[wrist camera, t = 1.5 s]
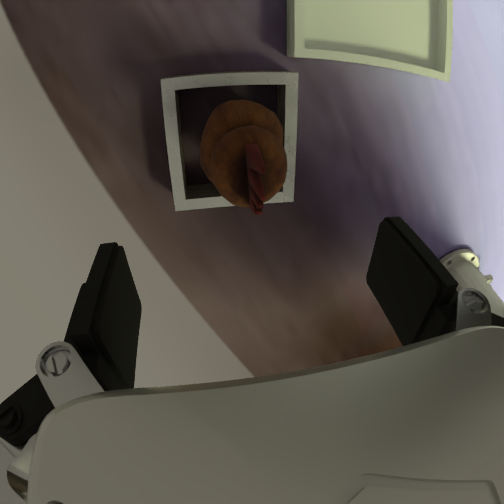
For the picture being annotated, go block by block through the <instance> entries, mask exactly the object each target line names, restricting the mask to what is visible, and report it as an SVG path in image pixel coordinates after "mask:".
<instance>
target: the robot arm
mask: <svg viewBox="0 0 504 504" xmlns="http://www.w3.org/2000/svg"><path fill="white" fill-rule="evenodd" d="M366 280H367V284H368V286H369V287H370V289H371V291H372V292H373V294H374V296H375V297H376V299H377V301H378V303H379V304H380V306H381V308H382V309H383V311H384V313H385V315H386V316H387V318H388V320H389V322H390V323H391V325H392V327H393V329H394V331H395V332H396V334H397V336H398V338H399V340H400V341H401V343H402V345H403V347H399V348H396V349H392V350H388V351H384V352H380V353H376V354H372V355H368V356H364V357H360V358H356V359H351V360H347V361H342V362H338V363H333V364H328V365H323V366H318V367H313V368H308V369H303V370H297V371H291V372H285V373H279V374H273V375H266V376H260V377H253V378H245V379H238V380H229V381H222V382H211V383H201V384H189V385H178V386H166V387H151V388H134V380H135V366H136V356H137V346H138V336H139V327H140V318H141V302H140V299H139V296H138V293H137V290H136V287H135V284H134V281H133V277H132V274H131V271H130V268H129V265H128V262H127V258H126V255H125V251H124V248H123V246H118V244H117V243H115V242H114V243H106V244H100V246H99V249H98V251H97V254H96V256H95V259H94V262H93V265H92V267H91V270H90V273H89V276H88V278H87V281H86V283H84V284H82V286H81V288H80V291H79V294H78V297H77V300H76V303H75V306H74V309H73V312H72V316H71V319H70V322H69V325H68V329H67V332H66V336H65V339H64V342H61V341H59V342H54V343H51V344H50V345H48V346H46V347H45V348H44V349H43V350H42V351H41V352H40V354H39V355H38V358H37V360H36V371H37V374H36V375H35V376H34V377H33V378H32V379H30V380H29V381H28V382H27V383H25V384H24V385H23V386H22V387H20V388H19V389H18V390H17V391H16V392H14V393H13V394H12V395H11V396H9V397H8V398H7V399H6V400H4V401H3V402H2V403H1V404H0V504H504V302H503V301H502V300H501V299H500V297H499V296H498V295H497V294H496V292H495V291H494V290H493V289H492V287H491V285H490V284H489V283H491V282H492V280H493V278H492V275H486V276H484V275H483V274H482V273H481V272H480V271H479V260H478V257H477V256H476V254H475V253H474V252H473V251H471V250H469V249H459V250H456V251H453V252H451V253H449V254H447V255H446V256H444V257H443V258H441V259H440V260H439V259H438V258H437V257H436V256H435V255H434V254H433V252H432V251H431V250H430V249H429V248H428V247H427V246H426V245H425V243H424V242H423V241H422V240H421V239H420V238H419V237H418V236H417V235H416V233H415V232H414V231H413V230H412V229H411V228H410V227H409V226H408V225H407V224H406V223H405V222H404V221H403V220H402V219H401V218H400V217H386V218H384V220H383V221H382V222H381V223H380V225H379V229H378V233H377V237H376V241H375V245H374V249H373V253H372V257H371V261H370V265H369V268H368V272H367V276H366ZM133 388H134V389H133Z"/></svg>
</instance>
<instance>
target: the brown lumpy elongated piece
mask: <svg viewBox="0 0 504 504" xmlns="http://www.w3.org/2000/svg"><path fill="white" fill-rule="evenodd" d="M283 132H284V131H283V127H282V125H281V123H280V121H279V119H278V117H277V116H276V114H275V113H274V112H273V111H271V110H269V109H268V108H266V107H264V106H263V105H261V104H259V103H255V102H252V101H249V100H229V101H227V102H225V103H223V104H220V105H218V106H216V107H215V109H214V110H213V112H212V113H211V115H210V117H209V118H208V120H207V123H206V125H205V128H204V131H203V134H202V139H201V143H200V164H201V167H202V169H203V171H204V172H205V174H206V176H207V177H208V179H209V180H210V181H211V182H212V183H214V185H215V187H216V188H217V190H218V192H219V193H220V195H221V196H222V197H224V198H225V199H226V200H227V201H229V202H230V203H231V204H232V205H235V206H241V207H251V209H252V211H253V212H254V214H255V215H258V214H262V208H263V203H265V202H267V201H269V200H270V199H271V198H272V197H273V196H275V195H276V194H277V193H278V192H279V190H280V189H281V187H282V186H283V184H284V183H285V179H286V174H287V154H286V152H285V150H284V148H283V146H282V143H283Z"/></svg>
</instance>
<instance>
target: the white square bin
mask: <svg viewBox="0 0 504 504" xmlns="http://www.w3.org/2000/svg"><path fill="white" fill-rule="evenodd" d="M231 85H277V117H278V119H279V121H280V123H281V125H282V127H283V131H284V132H283V143H282V146H283V148H284V150H285V152H286V154H287V174H286V179H285V183H284V184H283V186H282V187H281V189H280V190H279V192H278V193H277V194H276V195H275V196H273V197H272V198H271V199H270V200H269V201H267V202H265V203H280V202H294V184H295V164H296V141H297V113H298V73H297V72H292V71H271V70H260V71H225V72H209V73H197V74H186V75H177V76H169V77H164V78H162V79H161V91H162V103H163V113H164V124H165V133H166V142H167V151H168V159H169V167H170V175H171V183H172V190H173V197H174V204H175V211H182V210H192V209H203V208H214V207H226V206H235V205H232V204H231V203H230V202H229V201H227V200H226V199H225V198H224V197H222V196H221V195H220V193H219V192H218V190H217V188H216V187H215V185H214V183H211V184H199V185H189V186H187V180H186V171H185V162H184V152H183V141H182V130H181V119H180V107H179V93H178V90H180V89H190V88H201V87H214V86H231ZM265 203H263V204H265Z"/></svg>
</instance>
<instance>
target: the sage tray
mask: <svg viewBox="0 0 504 504" xmlns="http://www.w3.org/2000/svg"><path fill="white" fill-rule="evenodd" d="M452 32H453V4H452V0H287V57H301V58H316V59H328V60H338V61H346V62H354V63H361V64H368V65H374V66H380V67H386V68H391V69H397V70H402V71H406V72H411V73H415V74H420V75H424V76H428V77H432V78H436V79H440V80H443V81H447V82H449V81H450V70H451V56H452Z"/></svg>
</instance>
